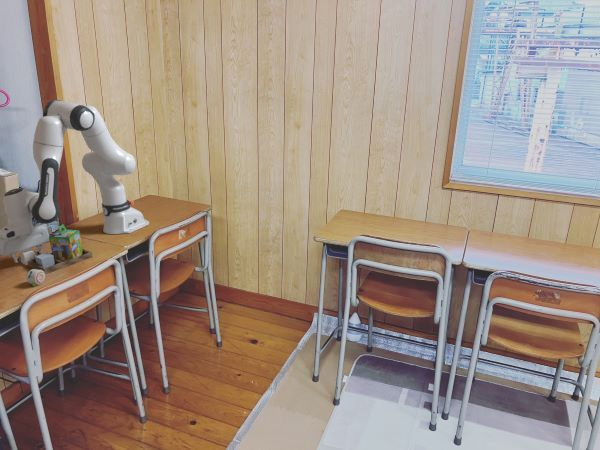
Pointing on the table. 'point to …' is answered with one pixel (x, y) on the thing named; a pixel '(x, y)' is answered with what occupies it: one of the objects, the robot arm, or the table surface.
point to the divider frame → (60, 264)
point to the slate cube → (45, 260)
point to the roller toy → (35, 277)
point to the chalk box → (66, 244)
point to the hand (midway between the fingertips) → (27, 258)
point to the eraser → (26, 256)
